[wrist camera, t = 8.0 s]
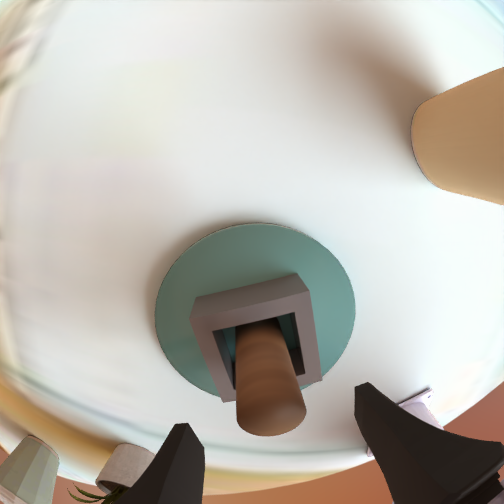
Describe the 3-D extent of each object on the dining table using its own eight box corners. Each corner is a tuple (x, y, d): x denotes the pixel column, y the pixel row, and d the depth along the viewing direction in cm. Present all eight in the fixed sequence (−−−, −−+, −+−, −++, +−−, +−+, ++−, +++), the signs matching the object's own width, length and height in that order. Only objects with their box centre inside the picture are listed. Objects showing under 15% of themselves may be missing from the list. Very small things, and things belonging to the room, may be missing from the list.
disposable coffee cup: (8, 416, 21) (-30, 474, 7) (58, 441, 22) (23, 515, 8) (34, 453, 24) (7, 507, 9) (81, 475, 25) (59, 539, 10)
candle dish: (354, 368, 21) (372, 397, 17) (195, 404, 20) (190, 438, 17) (336, 202, 17) (363, 207, 13) (131, 252, 17) (106, 269, 13)
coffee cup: (458, 221, 18) (569, 255, 6) (385, 158, 17) (529, 150, 5) (483, 137, 16) (580, 135, 5) (418, 69, 15) (523, 24, 3)
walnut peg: (283, 341, 18) (309, 427, 10) (241, 351, 18) (246, 440, 10) (275, 304, 17) (301, 385, 10) (230, 315, 17) (227, 401, 10)
